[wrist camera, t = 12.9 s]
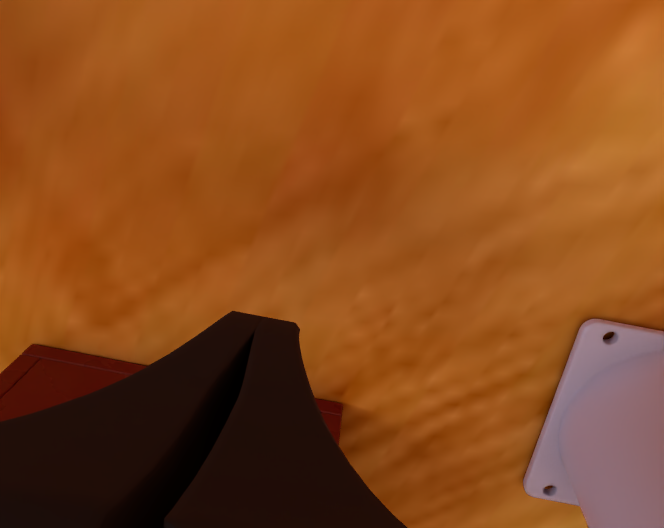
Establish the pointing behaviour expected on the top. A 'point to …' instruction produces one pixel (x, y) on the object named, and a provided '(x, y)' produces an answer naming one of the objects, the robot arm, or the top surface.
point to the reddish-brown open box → (81, 382)
